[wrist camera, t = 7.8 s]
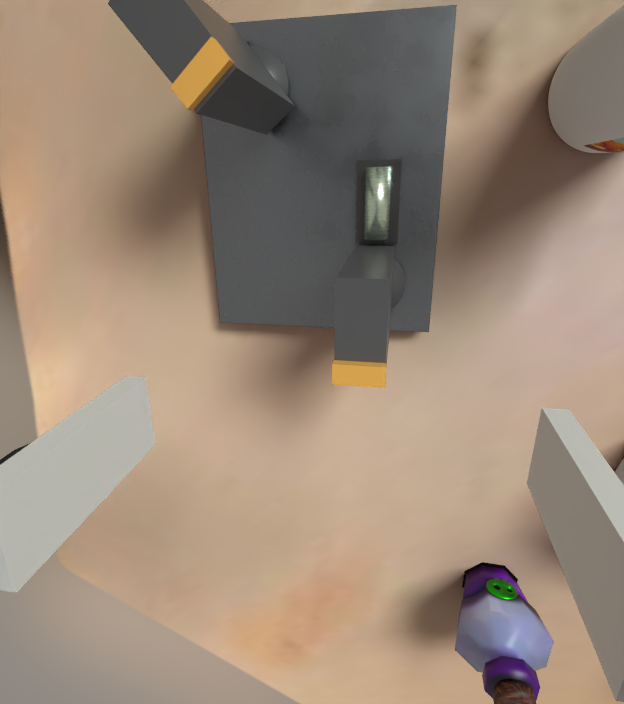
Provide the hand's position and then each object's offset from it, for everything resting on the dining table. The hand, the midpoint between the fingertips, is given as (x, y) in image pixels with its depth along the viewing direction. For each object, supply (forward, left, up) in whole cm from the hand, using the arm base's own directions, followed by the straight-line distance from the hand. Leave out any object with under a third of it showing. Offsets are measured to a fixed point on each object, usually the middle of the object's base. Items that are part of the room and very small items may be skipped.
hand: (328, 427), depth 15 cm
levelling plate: (-7, -4, -25) cm, 26 cm away
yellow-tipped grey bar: (-14, -9, -23) cm, 28 cm away
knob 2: (0, 0, -23) cm, 23 cm away
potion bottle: (+32, +13, -25) cm, 43 cm away
